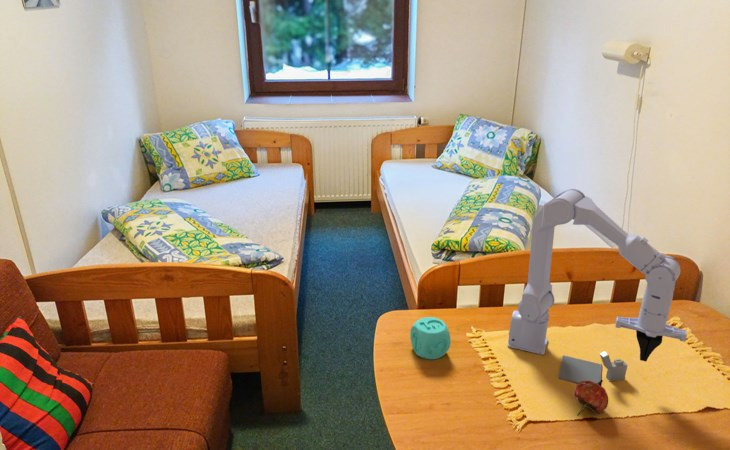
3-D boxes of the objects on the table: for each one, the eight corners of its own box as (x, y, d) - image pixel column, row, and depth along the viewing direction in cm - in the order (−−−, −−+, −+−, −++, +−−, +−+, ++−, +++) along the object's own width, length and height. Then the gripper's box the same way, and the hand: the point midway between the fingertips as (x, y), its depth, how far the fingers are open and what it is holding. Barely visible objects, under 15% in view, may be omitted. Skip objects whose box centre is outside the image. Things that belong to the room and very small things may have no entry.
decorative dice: (409, 344, 149) (410, 319, 146) (436, 339, 151) (438, 314, 148) (421, 362, 142) (422, 335, 139) (449, 356, 144) (451, 330, 141)
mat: (558, 378, 136) (558, 377, 136) (562, 356, 145) (562, 355, 144) (599, 388, 133) (600, 387, 133) (601, 365, 141) (601, 364, 141)
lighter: (620, 375, 138) (626, 348, 134) (624, 379, 136) (631, 352, 133) (594, 378, 136) (599, 351, 133) (598, 382, 135) (604, 355, 132)
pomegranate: (595, 432, 123) (624, 398, 124) (582, 415, 119) (611, 381, 120) (570, 413, 129) (598, 382, 130) (557, 397, 126) (585, 365, 127)
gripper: (620, 310, 125) (609, 360, 130) (693, 324, 120) (679, 376, 125) (620, 296, 131) (610, 344, 136) (689, 309, 126) (676, 359, 131)
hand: (643, 358), depth 131 cm, fingers closed
